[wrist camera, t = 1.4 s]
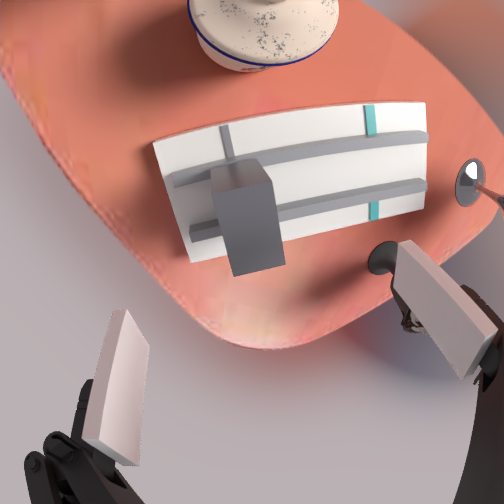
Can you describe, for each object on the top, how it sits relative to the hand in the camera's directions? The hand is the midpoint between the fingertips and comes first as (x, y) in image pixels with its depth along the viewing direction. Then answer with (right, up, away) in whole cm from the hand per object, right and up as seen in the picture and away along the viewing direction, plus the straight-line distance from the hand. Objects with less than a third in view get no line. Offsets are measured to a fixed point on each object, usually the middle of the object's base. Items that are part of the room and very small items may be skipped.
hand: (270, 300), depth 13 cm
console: (+5, +10, +14) cm, 18 cm away
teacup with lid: (0, +22, +6) cm, 23 cm away
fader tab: (-2, +7, +12) cm, 14 cm away
